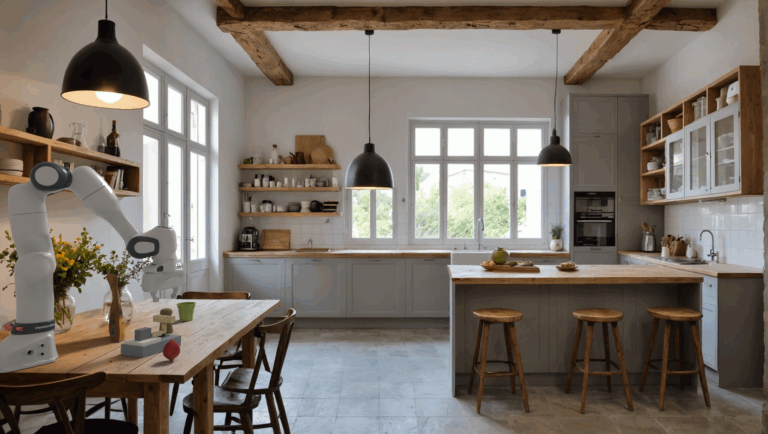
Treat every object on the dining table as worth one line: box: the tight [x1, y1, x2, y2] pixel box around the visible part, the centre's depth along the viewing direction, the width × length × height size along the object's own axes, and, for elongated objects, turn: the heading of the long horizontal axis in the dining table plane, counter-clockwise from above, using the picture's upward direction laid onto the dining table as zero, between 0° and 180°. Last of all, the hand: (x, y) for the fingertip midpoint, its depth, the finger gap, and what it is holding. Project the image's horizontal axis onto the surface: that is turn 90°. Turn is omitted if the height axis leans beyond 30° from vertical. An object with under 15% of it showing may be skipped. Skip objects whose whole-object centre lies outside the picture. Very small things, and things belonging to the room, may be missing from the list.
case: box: [120, 333, 182, 359], centre depth 187 cm, size 19×11×4 cm, turn 161°
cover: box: [123, 326, 161, 346], centre depth 183 cm, size 9×9×5 cm
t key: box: [151, 314, 176, 337], centre depth 190 cm, size 8×9×8 cm
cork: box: [158, 307, 174, 335], centre depth 216 cm, size 6×6×11 cm
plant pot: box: [176, 301, 197, 322], centre depth 243 cm, size 9×9×9 cm
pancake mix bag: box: [105, 272, 126, 343], centre depth 205 cm, size 7×19×28 cm, turn 33°
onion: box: [162, 339, 181, 362], centre depth 173 cm, size 6×6×8 cm
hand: (165, 300), depth 193 cm, fingers open, 8 cm apart
